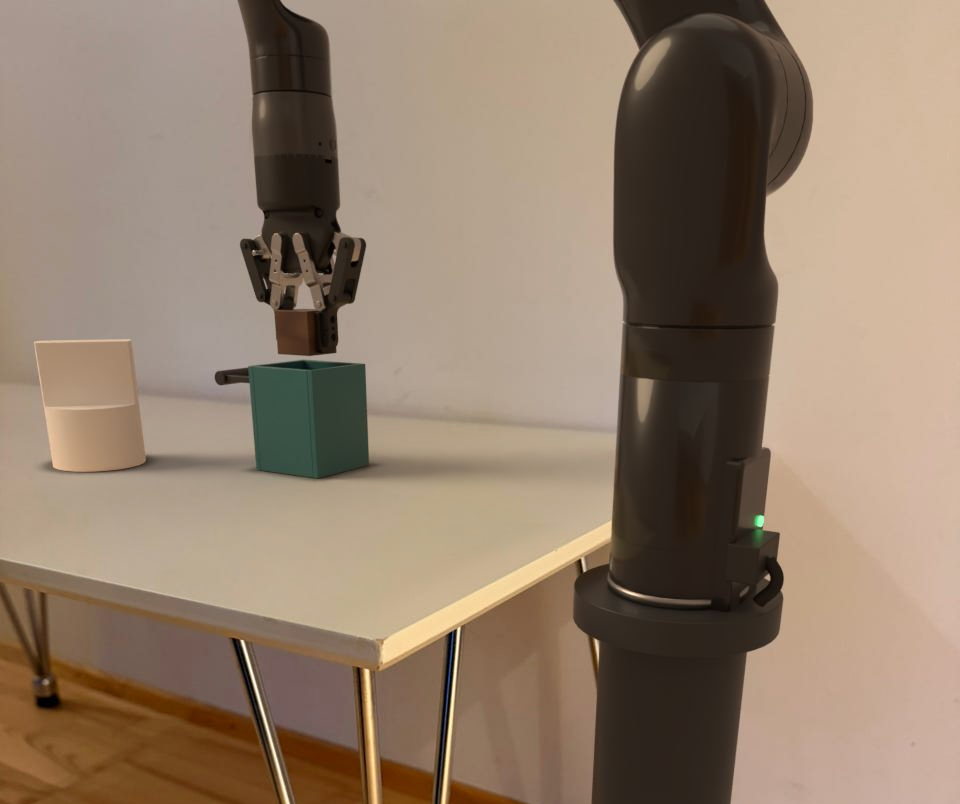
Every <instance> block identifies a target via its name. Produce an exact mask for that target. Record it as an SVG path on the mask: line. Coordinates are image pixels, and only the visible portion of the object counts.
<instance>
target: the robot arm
mask: <svg viewBox="0 0 960 804" xmlns="http://www.w3.org/2000/svg"><path fill="white" fill-rule="evenodd" d="M236 1H237V4H238V7H239V11H240V15H241V19H242V22H243V23H242V24H243V28H244V31H245V35H246V36H245V37H246V40H247V46H248V56H249V58H248V59H249V71H250V82H251V83H250V84H251V94H252V97H251V98H252V99H251V100H252V109H251V137H252V149H253V151H252V152H253V162H254V163H253V164H254V176H255V191H256V204H257V207H258V208H259V210H261V211H262V213H263V218H264V219H263V224H262V227H261V231H260V232H261V233H260V234H258V235H256V236H254V237H253V238H242V239H241V240H240V243H239V247H240V251H241V254H242V257H243V260H244V263H245V267H246V270H247V273H248V276H249V280H250V281H251V282H250V283H251V286H252V289H253V292H254V295H255V298H256V300H257V302H259V303H264V304H267V305H268V306H270V308H271V309H272V310H273V314H274V315H275V310H289V309H296V307H297V304H298V303H297V301H298V295H299V288H300V286H302V284H303V282H304V284H305V285H306V286H307V287H308V288H309V290H310V295H311V298H312V303H313V307H314V309H316V310H317V312H314V323H315V341H316V351H317V352H318V353H332V352H334V351H335V349H336V350H337V347H338V344H339V325H338V323H339V322H338V312H339V309H341V308H342V307H344V306H346V305H352V304H354V302H355V300H356V296H357V291H358V287H359V283H360V278H361V277H360V276H361V273H362V267H363V264H364V259H365V254H366V249H367V241H366V240H365V238H363V237H357V236H355V237H354V236H351V235H348V234H346V233H344V232H342V229H341V226H340V224H339V222H338V217H337V211H338V210H339V209H340V208H341V192H340V191H341V190H340V189H341V188H340V172H339V171H340V169H339V148H338V147H339V146H338V129H337V128H338V127H337V121H336V114H335V108H334V101H333V100H334V99H333V83H332V64H331V63H332V59H331V58H332V57H331V44H330V38H329V34H328V32H327V29H326V28H325V27H324V26H323V25H322V24H320V23H319V22H318V21H315V20H313V19H311V18H309V17H306V16H304V15H301V14H298V13H297V12H295V11H292V10H291V9H290V8H288V7H286V5H285V4H284V3H283V2H282V0H236ZM612 1H613V3H614V4H615V6H616V7H617V8H618V10H619V12H620V13H621V15H622V18H623V19H624V21H625V22H626V25H627V27H628V29H629V31H630V33H631V35H632V37H633V39H634V42H635V44H636V46H637V48H638V51H637V53H636V54H635V57H634V58H633V59H632V62H631V65H630V67H629V69H628V71H627V72H626V76H625V78H624V81H623V85H622V88H621V92H620V95H619V100H618V105H617V111H616V117H615V118H616V119H615V127H614V141H613V186H612V187H613V193H612V195H613V196H612V197H613V199H612V201H613V202H612V204H613V205H612V206H613V207H612V220H613V221H612V222H613V223H612V248H613V249H612V252H613V254H612V256H613V265H614V270H615V275H616V278H617V281H618V284H619V287H620V291H621V295H622V322H623V323H622V328H621V347H620V348H621V349H620V365H619V366H620V367H619V383H618V384H619V385H618V401H617V419H616V423H617V424H616V435H615V436H616V437H615V456H614V475H613V493H612V511H611V513H612V514H611V529H610V531H611V533H610V551H609V556H608V557H609V559H608V564H610V569H609V572H608V579H607V586H608V588H609V590H610V591H611V592H613V593H614V594H615V595H617V596H619V597H621V598H623V599H626V600H628V601H631V602H635V603H638V604H642V605H646V606H652V607H657V608H665V609H675V610H717V611H722V612H729V611H731V610H732V609H733V608H734V607H735V606H736V605H737V604H739V603H740V602H741V601H743V600H744V599H745V598H746V597H747V596H748V595H749V594H750V593H751V592H752V591H753V590H755V589H756V586H757V584H758V583H759V582H760V581H761V580H762V579H763V578H765V579H766V577H767V576H769V581H770V582H769V584H768V585H767V586H766V587H765V588H764V589H763V590H761V591H760V592H759V593H758V594H757V595H756V596H755V597H754V598H753V601H754V602H755V603H756V604H757V605H759V606H760V607H764V606H765V605H766V604H767V603H768V602H769V601H771V600H772V599H773V598H774V597H776V596H777V595H778V593H779V592H780V590H781V591H782V589H783V586H784V582H785V575H784V571H783V568H782V567H781V565H780V563H779V561H778V554H779V546H780V537H781V534H780V532H779V531H773V530H766V529H765V530H764V523H765V512H766V504H767V495H768V485H769V476H770V467H771V457H772V451H771V450H770V449H771V448H770V447H767V446H763V443H764V432H765V424H766V423H765V422H766V414H767V413H766V412H767V404H768V395H769V385H770V375H771V368H772V367H771V366H772V358H773V357H772V356H773V350H774V349H773V348H774V337H775V328H776V325H775V324H776V321H777V312H778V302H779V281H778V277H777V275H776V273H775V272H774V270H773V268H772V266H771V264H770V260H769V257H768V254H767V247H766V240H765V239H766V238H765V222H766V206H767V197H769V196H772V195H773V194H775V193H776V192H777V191H778V190H779V189H781V188H782V187H783V186H784V185H785V184H787V183H788V181H789V180H790V179H791V178H792V177H793V176H794V174H795V173H796V171H797V170H798V168H799V167H800V165H801V163H802V161H803V159H804V157H805V155H806V152H807V149H808V146H809V144H810V141H811V136H812V131H813V124H814V97H813V90H812V85H811V81H810V77H809V75H808V72H807V70H806V68H805V66H804V63H803V61H802V60H801V58H800V57H799V55H798V53H797V51H796V50H795V48H794V47H793V45H792V43H791V42H790V41H789V38H788V37H787V35H786V33H785V32H784V31H783V29H782V27H781V25H780V24H779V22H778V20H777V19H776V17H775V15H774V14H773V12H772V10H771V9H770V7H769V6H768V5H769V4H768V3H767V2H766V0H612ZM334 256H335V260H334ZM274 326H275V329H276V319H275V318H274ZM275 339H276V341H277V333H276V332H275ZM332 354H333V353H332Z"/></svg>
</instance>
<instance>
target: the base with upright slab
mask: <svg viewBox="0 0 960 804" xmlns="http://www.w3.org/2000/svg"><path fill="white" fill-rule="evenodd" d="M132 341H133V340H132V339H130V338H118V339H117V338H112V339H110V338H109V339H66V340H65V339H63V340H62V339H60V340H59V339H57V340H56V339H55V340H51V339H50V340H36V341H33V347H34V352H35V353H34V354H35V359H36V365H37V372H38V379H39V384H40V390H41V391H40V393H41V397H42V403H43V410H44V417H45V418H44V419H45V423H46V431H47V437H48V442H49V449H50V455H51V462H52V467H53V468H54V469H56V470H60V471H65V472H76V473H77V472H79V473H80V472H81V473H85V472H86V473H88V472H91V473H92V472H106V471H107V472H108V471H109V472H110V471H116V470H117V471H118V470H124V469H129V468H133V467H137V466H140V465H143V464H145V462H147V457H146V449H145V448H146V447H145V440H144V433H143V423H142V416H141V407H140V400H139V399H140V398H139V391H138V383H137V375H136V367H135V358H134V350H133V349H134V348H133V342H132Z"/></svg>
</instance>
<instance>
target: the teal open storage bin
mask: <svg viewBox="0 0 960 804" xmlns="http://www.w3.org/2000/svg"><path fill="white" fill-rule="evenodd" d="M214 381H215V383H216V384H217V385H218V386H228V385H235V384H241V383H242V384H249V393H250V394H249V395H250V406H251V408H250V409H251V420H252V431H253V445H254V457H255V470H257V471H263V472H268V473H269V472H270V473H275V474H276V473H278V474H284V475H290V476H297V477H304V478H311V479H321V478H322V479H323V478H325V477H329V476H333V475H336V474H340V473H344V472H347V471H352V470H355V469H359V468H363V467H366V466H370V454H369V453H370V452H369V427H368V426H369V425H368V424H369V423H368V400H367V397H368V395H367V371H366V363H360V362H358V363H357V362H347V361H346V362H345V361H331V360H315V359H313V360H312V359H295V360H288V361H287V360H286V361H280V362H271V363H262V364H255V365H254V364H253V365H248V367H240V368H232V369H223V370H218V371H216V372H215V373H214Z"/></svg>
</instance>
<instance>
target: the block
mask: <svg viewBox="0 0 960 804" xmlns="http://www.w3.org/2000/svg"><path fill="white" fill-rule="evenodd" d="M314 312H317V310H316V309H315V308H294V309H289V310H275V314H274V320H275V319H276V328H275V334H276V333H277V340H276V346H277V355H288V356H300V357H301V356H303V357H313V356H314V357H315V356H322V355H331V354H337V353H338V351H337V348H336V349H335V351H334V352H332V353H318V352H317V351H316V341H315V323H314Z"/></svg>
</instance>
